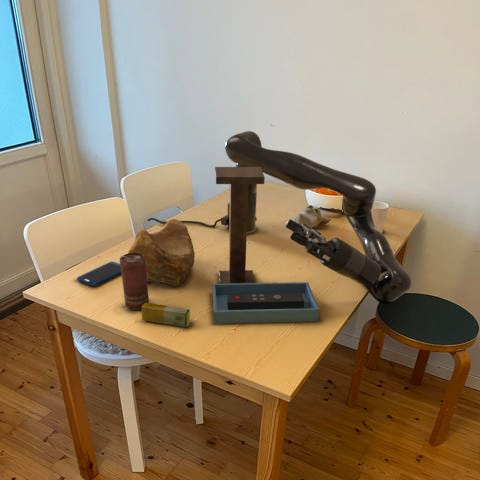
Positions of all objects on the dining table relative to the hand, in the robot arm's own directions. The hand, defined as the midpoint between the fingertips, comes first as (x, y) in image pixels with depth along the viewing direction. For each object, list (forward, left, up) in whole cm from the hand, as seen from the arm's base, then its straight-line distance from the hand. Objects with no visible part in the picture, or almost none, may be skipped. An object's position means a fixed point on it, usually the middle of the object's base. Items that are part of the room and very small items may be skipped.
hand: (290, 228), depth 116 cm
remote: (-4, -3, -22) cm, 22 cm away
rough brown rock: (-36, -6, -22) cm, 43 cm away
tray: (-4, -4, -22) cm, 23 cm away
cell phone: (-52, -17, -22) cm, 59 cm away
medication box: (-20, -24, -22) cm, 39 cm away
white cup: (-2, +65, -22) cm, 69 cm away
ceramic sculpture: (-22, +54, -22) cm, 62 cm away
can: (-32, -23, -22) cm, 45 cm away
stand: (-18, +3, -22) cm, 29 cm away
